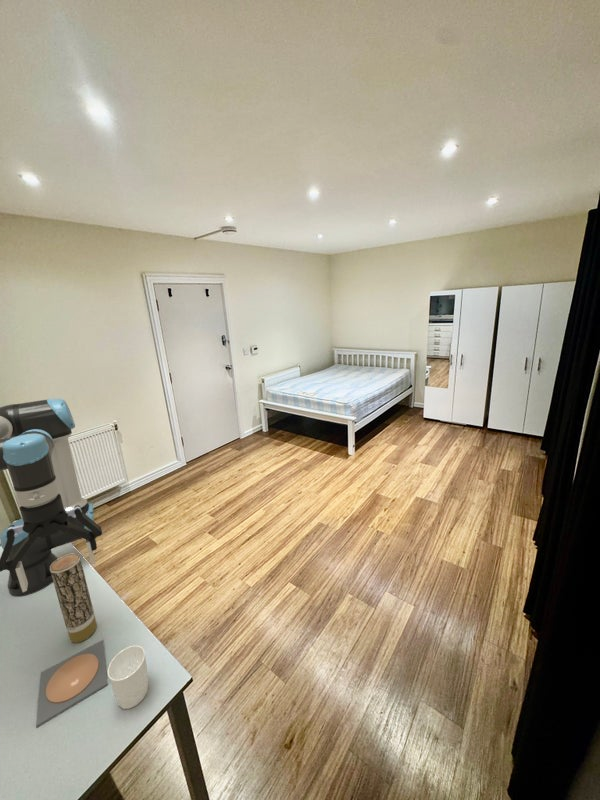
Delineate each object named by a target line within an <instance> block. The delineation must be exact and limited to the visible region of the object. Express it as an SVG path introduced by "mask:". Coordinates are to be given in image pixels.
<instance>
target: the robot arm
mask: <svg viewBox="0 0 600 800" xmlns="http://www.w3.org/2000/svg"><path fill="white" fill-rule="evenodd" d="M75 428H76V424H75V421H74V418H73V414H72V412H71V410H70V407H69V406H68V404H67V402H66V400H65V399H62V398H51V399H50V398H49V399H42V400H36V401H28V402H27V401H26V402H22V403H13V404H8V405H4V406H0V472H2V471H5V470H7V471H8V474H9V477H10V479H11V480H10V481H11V482H12V486H13V491H14V494H15V497H16V501H17V505H18V506H19V511H20V514H21V518H20V519H17V520H16V521H14V522H13V523H11V524H9V525H8V526H6V528H4V530H2V532H1V534H0V543H1V549H2V552H1V555H0V572H3V571H8V572H9V574H8V581H7V589H8V592H9V594H10V595H11V596H13V597H23V596H28V595H31V594H34V593H36V592H39V591H40V590H43V589H45V588H46V587H47V586H49V585H51V584H52V583H54V582H53V579H52V575H51V571H50V566H51V564H52V563H53V562H54V561H55V560H57V559H58V558H59V557H57V556H56V555H55V554H54V553H53V551H52V549H56V548H59V547H61V546H64V545H67V544H70V543H72V542H76V541H79V540H82V539H83V540H85V543H86V544H85V545H86V549H87V553H88V556H89V560H90V564H91V565H95V564H96V563H95V555H94V551H96V550H98V549H97V548H98V546H97V540H96V539H97V538H98V537H100V536H102V535H103V530H102V529H103V528H102V527H101V526H100V525H98V524H97V523H96V522H95V519H94V517H95V515H94V504H93V503H92V502H91V503H89V502H88V499H86V498H83V497H82V494H81V491H80V486H79V480H78V476H77V473H76V468H75V464H74V458H73V456H72V451H71V446H70V442H69V438H70V436H72V434H73V432H72V430H74V429H75Z"/></svg>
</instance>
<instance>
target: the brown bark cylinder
mask: <svg viewBox="0 0 600 800" xmlns="http://www.w3.org/2000/svg"><path fill="white" fill-rule="evenodd" d="M57 558H58V559H57V560H55V561H54V562H53V563H52V564H51V566H50V571H51V575H52V579H53V582H52V583H53V585H54V588H55V592H56V593H55V594H56V597H57V599H58V602H59V607H60V610H61V615H62V617H63V621H64V625H65V627H66V628H65V629H66V631H67V635H68V639H69V641H70V642H71V643H75V644H77V643H81V642H83V641H85V640H87V639H88V638H90V636H92V635H93V634H94V633H95V631H96V629H97V626H98V625H97V620H96V615H95V612H94V608H93V607H94V606H93V603H92V599H91V596H90V591H89V588H88V583H87V578H86V575H85V571H84V567H83V564H82V563H83V562H82V559H81V556H80V554H79V553H75V552H73V553H68V554H67V553H66V554H64V555H62V556H60V557H57Z"/></svg>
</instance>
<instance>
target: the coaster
mask: <svg viewBox="0 0 600 800" xmlns="http://www.w3.org/2000/svg"><path fill="white" fill-rule="evenodd" d="M106 661H107V660H106V653H105V644H104V639H102V640H100V641H98V642H96V643H94V644H92V645H91V646H88V647H87V648H85V649H83V650H81V651H79V652H77V653H75V654H73V655H71V656H70V657H67V658H66V659H64V660H62V661H60V662H58V663H56V664H55V665H52V666H50V667H48V668H46V669H45V670H43V671H41V672H40V678H39V679H40V680H39V690H38V699H37V708H36V711H37V712H36V721H35V728H39V727H40V726H43V725H45V723H47V722H49V721H50V720H52V719H55V717H57V716H60V714H62V713H65V712H66V711H68V710H69V709H71V708H72V707H74V706H76V705H77V704H79V703H80V702H82V701H83V700H86V699H87V698H89V697H91V696H92V695H94V694H96V693H98V692H99V691H101V690H102V689H104V688H106V687H107V686H108V685H109V680H108V673H107V672H108V669H107V663H106Z"/></svg>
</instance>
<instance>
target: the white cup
mask: <svg viewBox="0 0 600 800" xmlns="http://www.w3.org/2000/svg"><path fill="white" fill-rule="evenodd" d="M107 667H108V668H107V678H108V679H109V680H108V681H109V683H110V685H111V688H112V691H113V693H114V697H115V698H116V702H117V704H118V706H119V707H120V708H121V709H123V710H130V709H132V708H133V707H136V706H137V705H139V704H140V703H141V702H142V701H143V699H144V698H145V697H146V695H147V693H148V691H149V685H150V684H149V678H148V677H149V675H148V673H149V672H148V664H147V658H146V652H145V649H144V648H143V647H142V646H140V645H130V646H127V647H124V649H122V650H120V651H119V652H118V653H117V654H116V655H115V656H114V657H112V660H111V661H110V663H109V665H108V666H107Z"/></svg>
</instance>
